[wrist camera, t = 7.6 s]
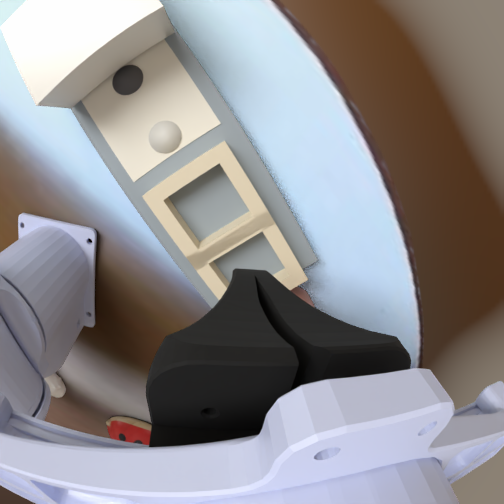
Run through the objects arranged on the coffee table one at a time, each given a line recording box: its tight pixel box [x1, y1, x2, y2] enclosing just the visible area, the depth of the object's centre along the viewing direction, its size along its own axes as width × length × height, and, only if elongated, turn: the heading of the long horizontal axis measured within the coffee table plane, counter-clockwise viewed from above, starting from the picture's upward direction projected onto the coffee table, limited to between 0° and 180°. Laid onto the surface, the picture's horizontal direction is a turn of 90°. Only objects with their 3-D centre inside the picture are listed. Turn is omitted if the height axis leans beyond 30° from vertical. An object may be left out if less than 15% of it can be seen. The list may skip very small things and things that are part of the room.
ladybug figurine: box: [106, 416, 152, 445], centre depth 29 cm, size 7×10×4 cm
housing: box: [1, 0, 175, 109], centre depth 11 cm, size 8×9×5 cm
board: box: [71, 24, 318, 308], centre depth 17 cm, size 28×9×3 cm, turn 31°
